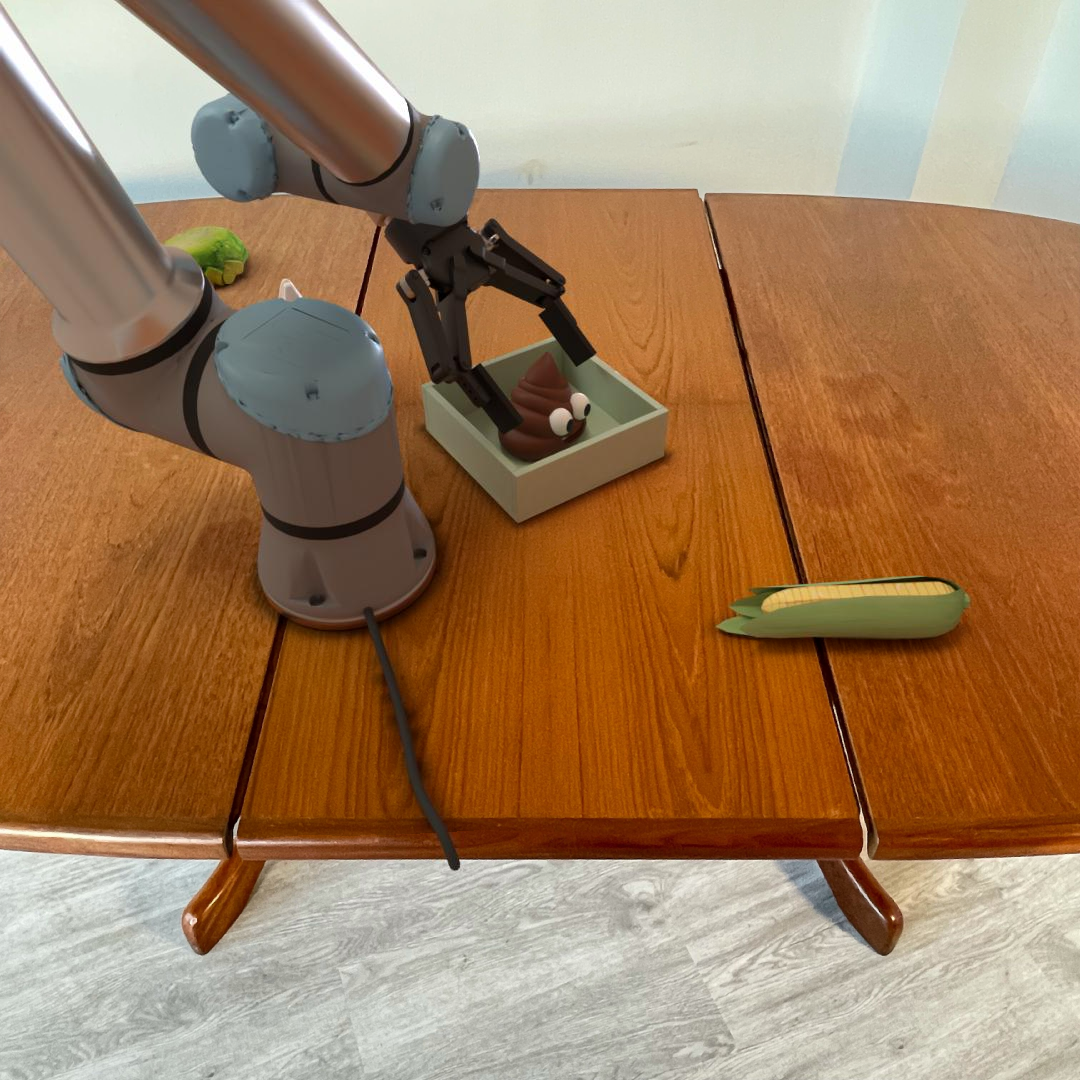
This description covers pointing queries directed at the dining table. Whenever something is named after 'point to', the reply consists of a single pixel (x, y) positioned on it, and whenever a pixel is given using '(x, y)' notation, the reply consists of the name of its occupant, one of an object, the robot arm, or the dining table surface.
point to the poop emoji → (545, 413)
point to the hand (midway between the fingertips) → (552, 392)
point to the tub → (592, 460)
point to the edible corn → (852, 609)
